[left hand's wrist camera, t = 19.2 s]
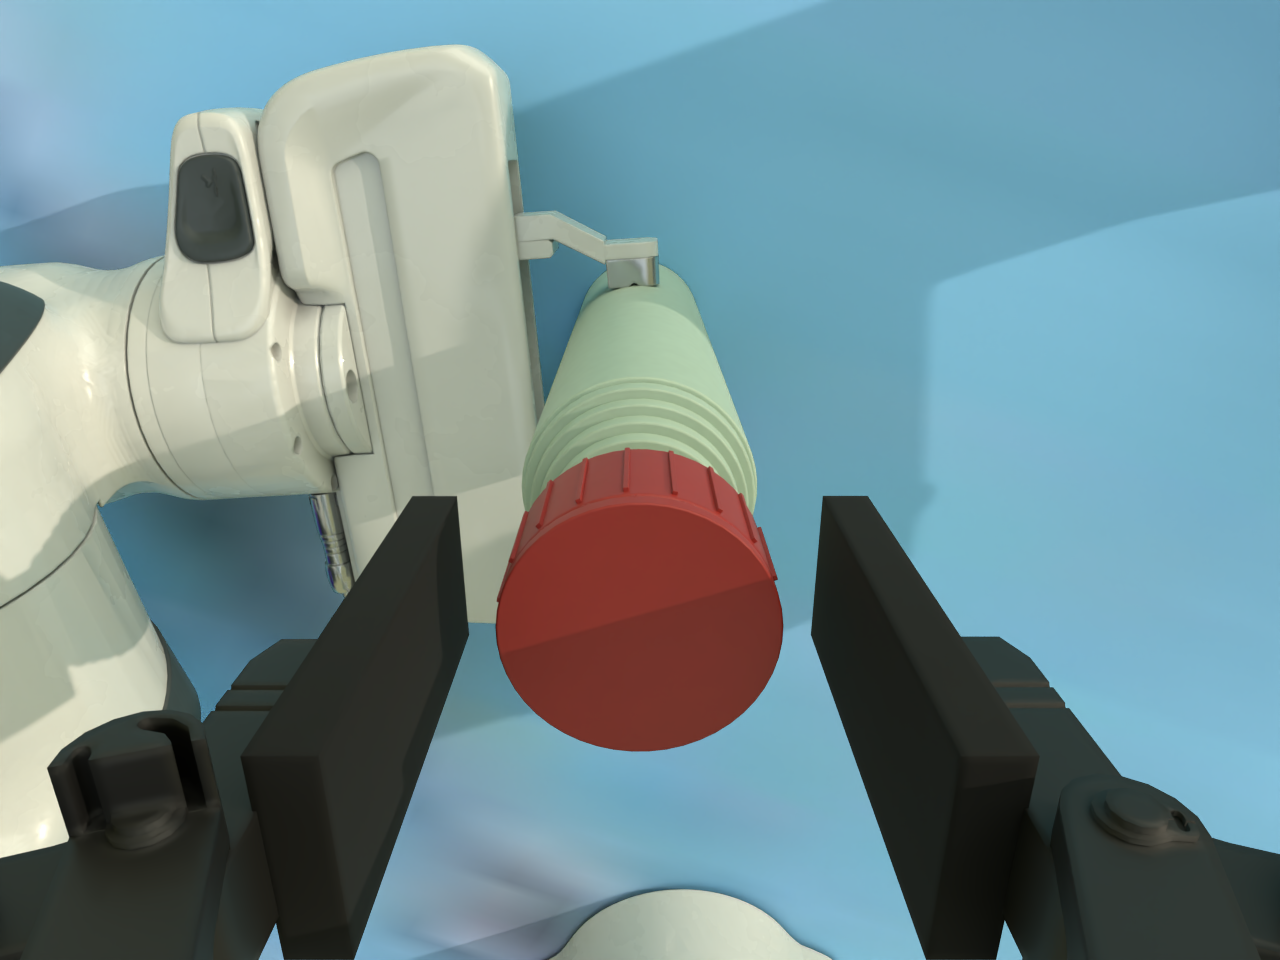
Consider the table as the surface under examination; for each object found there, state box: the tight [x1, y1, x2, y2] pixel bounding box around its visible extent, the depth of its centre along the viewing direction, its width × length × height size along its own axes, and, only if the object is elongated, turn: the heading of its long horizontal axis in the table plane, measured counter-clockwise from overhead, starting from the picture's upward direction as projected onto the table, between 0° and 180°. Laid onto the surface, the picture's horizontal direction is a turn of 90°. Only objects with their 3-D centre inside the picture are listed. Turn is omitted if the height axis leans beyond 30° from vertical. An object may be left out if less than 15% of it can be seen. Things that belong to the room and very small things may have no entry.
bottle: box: [522, 264, 757, 516], centre depth 24 cm, size 5×5×24 cm
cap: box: [496, 448, 783, 751], centre depth 14 cm, size 4×4×2 cm
